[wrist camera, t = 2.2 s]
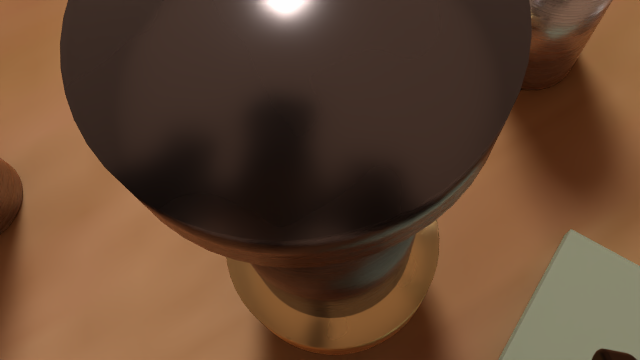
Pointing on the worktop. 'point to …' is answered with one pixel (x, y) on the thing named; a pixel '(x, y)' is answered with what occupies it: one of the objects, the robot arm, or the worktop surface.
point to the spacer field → (542, 72)
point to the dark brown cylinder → (300, 138)
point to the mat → (580, 306)
